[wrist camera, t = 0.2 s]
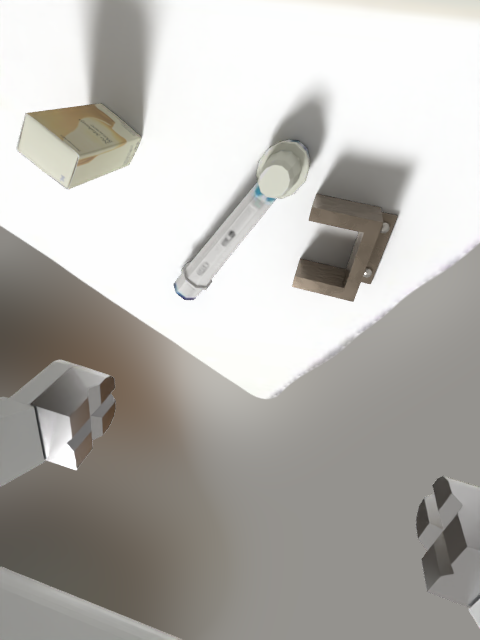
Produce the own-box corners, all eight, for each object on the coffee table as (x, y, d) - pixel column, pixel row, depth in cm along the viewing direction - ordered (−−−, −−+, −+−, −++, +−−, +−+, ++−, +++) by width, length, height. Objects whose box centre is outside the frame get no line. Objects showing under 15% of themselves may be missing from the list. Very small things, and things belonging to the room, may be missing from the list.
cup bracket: (316, 193, 43) (311, 207, 39) (398, 210, 41) (403, 226, 37) (297, 268, 49) (292, 286, 45) (369, 285, 47) (370, 305, 43)
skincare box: (143, 136, 44) (83, 157, 35) (129, 166, 47) (69, 193, 37) (98, 99, 43) (23, 110, 34) (86, 132, 46) (14, 150, 36)
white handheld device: (164, 286, 52) (270, 142, 34) (185, 261, 56) (287, 124, 39) (193, 309, 53) (311, 180, 35) (212, 283, 57) (323, 158, 40)
